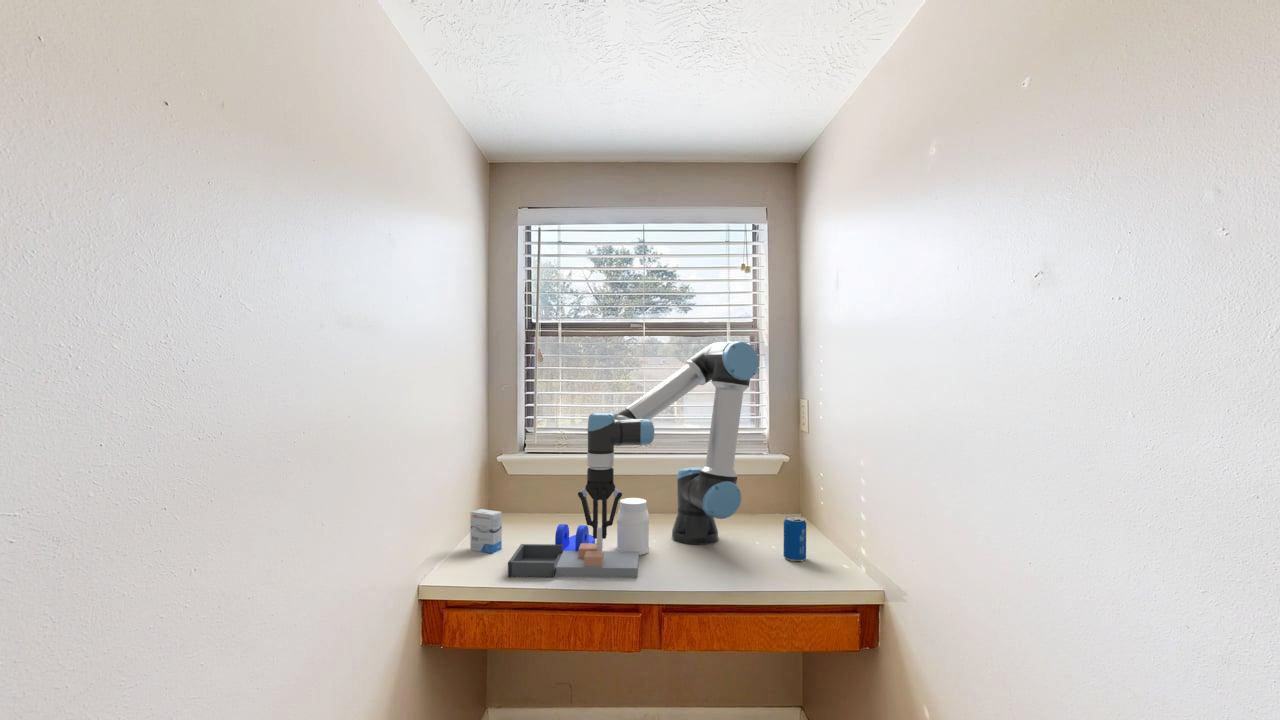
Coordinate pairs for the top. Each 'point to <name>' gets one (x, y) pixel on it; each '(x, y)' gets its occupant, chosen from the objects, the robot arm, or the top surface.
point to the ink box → (486, 531)
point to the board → (612, 566)
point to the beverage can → (794, 538)
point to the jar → (633, 526)
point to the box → (535, 561)
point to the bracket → (572, 537)
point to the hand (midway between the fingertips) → (599, 549)
